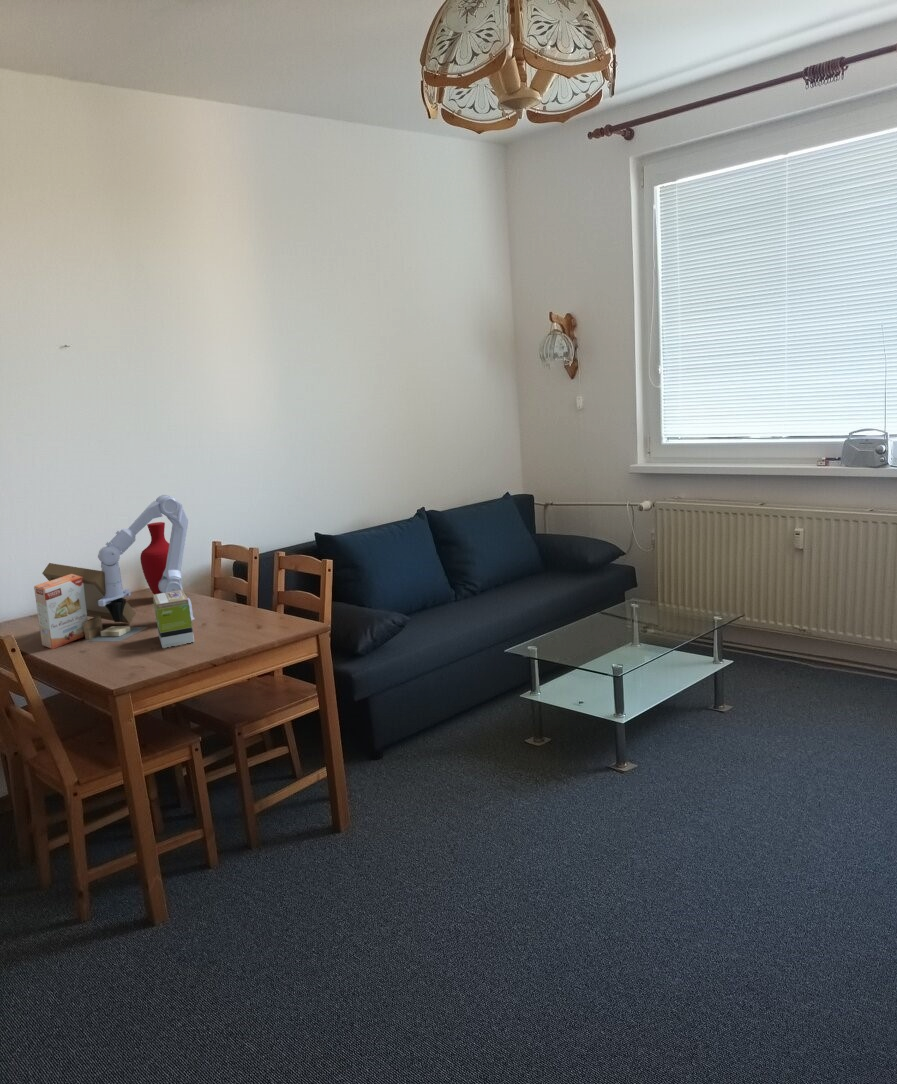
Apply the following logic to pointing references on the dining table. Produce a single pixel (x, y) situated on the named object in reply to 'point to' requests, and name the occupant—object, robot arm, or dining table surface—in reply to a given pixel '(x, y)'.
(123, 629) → the tile teal
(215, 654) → the dining table surface
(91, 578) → the photo frame
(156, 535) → the vase
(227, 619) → the dining table surface
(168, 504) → the robot arm
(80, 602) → the cracker box
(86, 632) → the tile plain
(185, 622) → the tea box
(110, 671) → the dining table surface
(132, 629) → the felt mat
